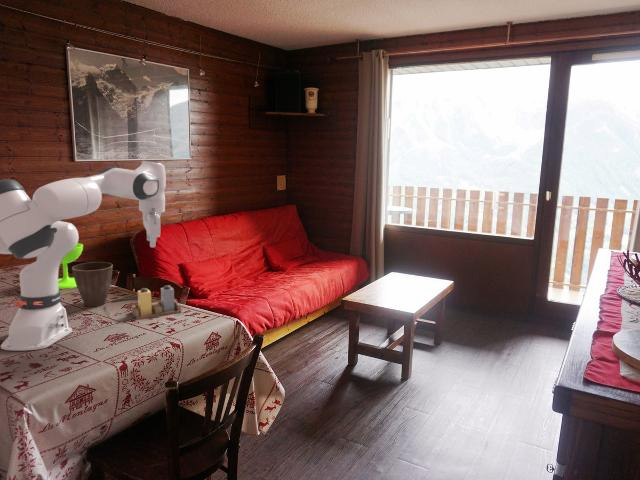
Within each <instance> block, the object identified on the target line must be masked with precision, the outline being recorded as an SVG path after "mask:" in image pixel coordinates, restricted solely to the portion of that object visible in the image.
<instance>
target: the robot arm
mask: <svg viewBox="0 0 640 480" xmlns="http://www.w3.org/2000/svg"><path fill="white" fill-rule="evenodd" d="M166 175H167V174H166V167H165V164H164V163H163V162H160V161H156V160H152V159H151V160H149V159H143V160H142V161H141V164H140V166H138V167H137V168H135V169H126V168H121V167H117V166H114V165H113V166H111V165H110V166H107V167H104V168H103V169H102V170H100V172H97V173H95V174H93V175H89V176H85V177H72V178H67V179H66V178H65V179H61V180H56V181H53V182H50V183H47V184H45V185H43V186H40V187H38V188H37V189H36V190H35V192H34V193H33V194H32V199H31V198H30V197H29V195H28V194H27V193H26V189H25V188H24V187H23V185H21V184H20V183H19V182H18V181H17V180H15V179H11V178H10V179H9V178H4V179H0V255H1V254H2V255H13V256H14V257H15V258H16V259H21V260H26V259H31V258H32V259H33V258H35V257H36V261H33V262H32V263H30V264H28V265H26V266H25V267H23V268H22V269H21V271H20V273H19V287H20V295H19V298H18V300H15V301H14V307H15V308H16V307H18V310H17V312H16V314H15V315H14V318H13V320H12V322H11V323H10V326H9V328H8V336H7V337H6V338H5V340H4V341H3V342H2V344H0V349H1V350H5V351H21V352H22V351H34V350H35V351H36V350H42V349H46V348H48V347H50V346H52V345H53V344H55V343H56V342H58V341H60V340H61V339H63V338H65V337H66V336H68V335H70V334H71V333H72V332H73V328H72V327H70V326H69V322H68V316H67V315H68V314H67V311H66V308H65V307H64V306H63V304H62V303H61V301H62V294H61V289H59V286H58V279H59V269H60V266H61V261H62V260H63V258H64V257H65V256H66V255H67V254H68V253H69V252H70V251H72V250H73V249H74V248H75V247H76V245H77V243H79V241H80V240H79V239H80V237H79V231H78V229H77V227H76V226H75V225H74V224H73V223H71V222H67V221H64V220H68V219H74V218H78V217H83V216H86V215H89V214H91V213H94V212H95V211H98V209H99V207H100V206H101V203H102V199H103V198H102V197H103V195H105V196H110V197H119V198H124V199H131V200H137V201H138V211H139V212H141V214H142V225H143V227H144V229H145V231H146V241H147V242H149V247H150V248H155V247H156V246H157V245H156V243H157V239H158V238H160V236H161V216H162V213H165V212H166V195H165V190H166V187H167V184H166V183H167V178H166ZM102 194H103V195H102ZM62 220H63V221H62Z"/></svg>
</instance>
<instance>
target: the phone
mask: <svg viewBox="0 0 640 480" xmlns="http://www.w3.org/2000/svg"><path fill="white" fill-rule="evenodd" d="M135 300H138V295H137V296H131V297H124V298H119V299H112V300H111V301H110V302H111V304H112V303H121V302H127V301H135Z"/></svg>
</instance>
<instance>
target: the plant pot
mask: <svg viewBox="0 0 640 480" xmlns="http://www.w3.org/2000/svg"><path fill="white" fill-rule="evenodd" d="M113 267H114V266H113V264H112V263H111V262H105V261H94V262H92V261H91V262H85V263H84V262H83V263H79V264H76V265H73V266H72V267H71V272H72V275H73V278H74V279H75V282H76V285H77V287H76V288H77V290H78V292H79V295H80V297H81V300H82V301H83V303H84V305H85V306H86V307H91V308H92V307H99V306H102V305H105V304H106V302H107V298H108V294H109V291H110V289H111V283H112V276H113Z"/></svg>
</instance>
